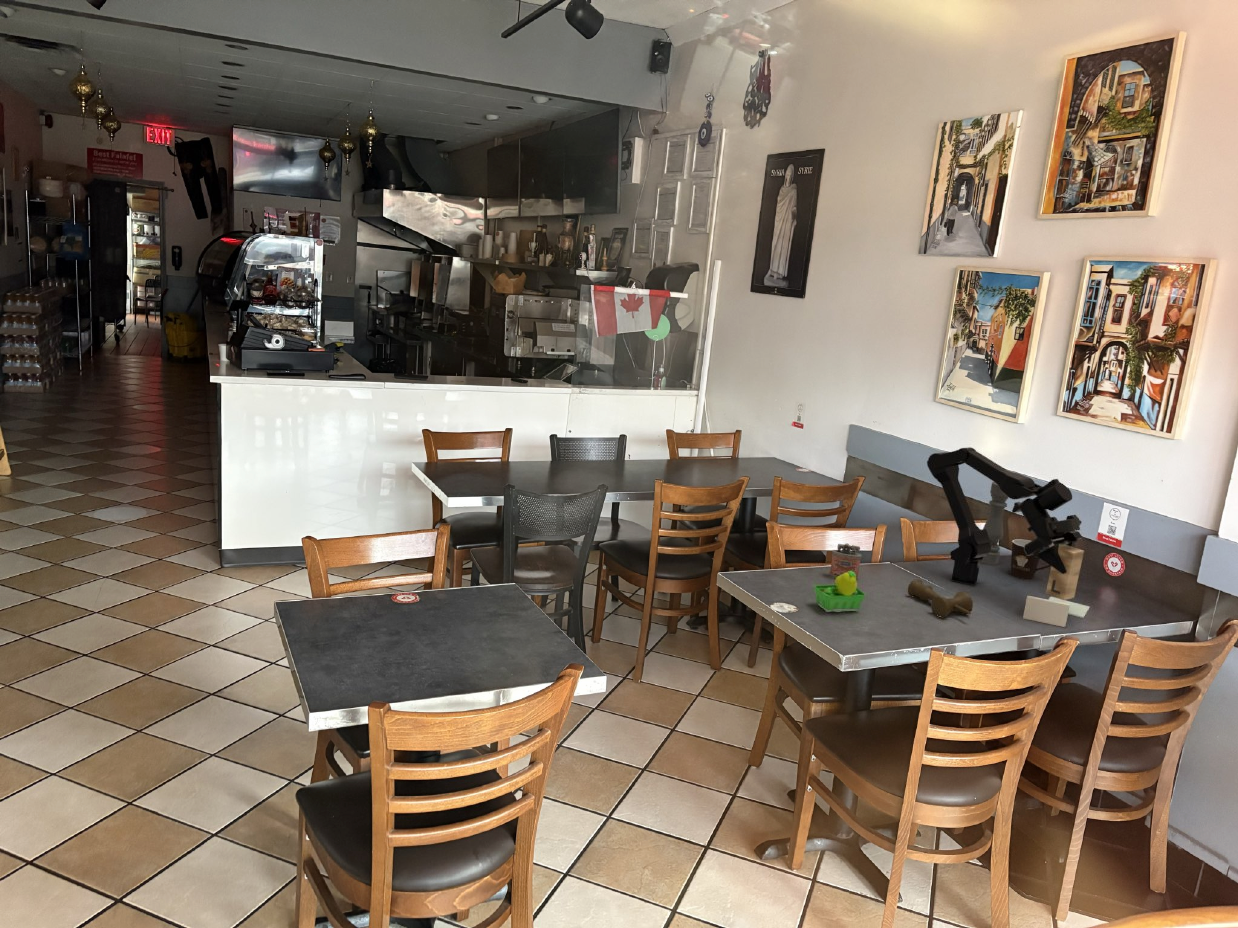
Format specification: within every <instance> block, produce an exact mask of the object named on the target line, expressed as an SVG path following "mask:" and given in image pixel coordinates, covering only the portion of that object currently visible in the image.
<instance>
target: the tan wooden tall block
mask: <svg viewBox="0 0 1238 928" xmlns="http://www.w3.org/2000/svg"><path fill="white" fill-rule="evenodd" d="M1058 554H1059V556H1060V558H1061V560H1062V562H1063V564H1064V567H1065V569H1066V573H1065V574H1062V573H1061V572H1059V571H1058V570H1056V569H1055V568H1054V567H1052V566H1050V572H1049V576H1048V580H1047V586H1046V591H1045V594H1046V595H1048V596H1050V597H1054V598H1058V599H1061V600H1066V601H1068V600H1070V599H1074V598H1075V596H1076V591H1077V585H1078V581H1079V576H1080V573H1081V566H1082V563H1083V558H1084V554H1085V550H1082V549H1080V548H1078V547H1077V548H1076V547H1075V546H1074V547H1071V546H1068V545H1062V546H1059V548H1058Z"/></svg>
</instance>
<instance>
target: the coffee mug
mask: <svg viewBox="0 0 1238 928" xmlns="http://www.w3.org/2000/svg"><path fill="white" fill-rule="evenodd" d="M1031 541H1032V540H1029V539H1020V538H1018V539H1013V540H1011V544H1012V545H1011V557H1010V572H1009V573H1010V575H1011V576H1012V577H1015V578H1017V577H1018V579H1020V578H1024V579H1023V580H1027V579H1029V580H1033V579H1034V577H1035V575H1036V572H1037V571H1041V570H1045V569H1047V568H1051V565H1049V564H1047V565H1045V566H1041V567H1038V565H1039V563H1040V560H1041V559H1040V558H1038V557H1036V556H1035V555H1037V554H1039V552H1038V551H1039V550H1038V551H1036V552H1035V554H1034V555H1030V556H1027V555H1026V553H1025V551H1024V546H1025V545H1026V544H1028V543H1029V542H1031ZM1032 578H1033V579H1032Z"/></svg>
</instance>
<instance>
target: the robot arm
mask: <svg viewBox="0 0 1238 928" xmlns="http://www.w3.org/2000/svg"><path fill="white" fill-rule="evenodd" d="M964 464H966V465H967V466H968V467H970V468H972V469H973V470H975V471H976V472H978V473H979V474H981V475H983V476H984V477H986V478H987V479H989V480H990V481H992V482H995V483H996V484H997V485H998V486H999V488H1000V490H1001V491H1002V492H1003V493H1004V494H1006V495H1007V496H1008V499H1011V500H1022V499H1024V500H1022V501H1021V502H1020V501H1018V502H1014V504H1013V507H1012V510H1011V512H1012V513H1019V512H1021V514H1022V515H1023V517H1024V519H1025V521H1026V522H1027V523H1028V524H1027V525H1028V526H1029V527H1027V529H1026V530H1028V532H1033V535H1034V536H1035V539H1033V540H1030V541H1031V542H1029V543H1028V544H1026V545H1025V546H1024V551H1025V553H1026V555H1027V556H1030V555H1034V554H1035V552H1036V551H1038V550H1039V551H1038V552H1039V554H1037V555H1035V556H1036V557H1038V558H1040V560H1042V561H1043V562H1045V563H1046V564H1047V565H1051V566H1052V567H1054V568H1055V569H1056V570H1058V571H1059V572H1061V573H1062V574H1065V573H1066V569H1065V567H1064V564H1063V562H1062V560H1061V558H1060V556H1059V554H1058V548H1059V546H1062V545H1068V546H1071V547H1074V548H1075V546H1076V544H1078V541H1080V540H1081V539H1083V536H1082V534H1081V533H1080V531H1081V527H1080V526H1081V524H1082V520H1080V517H1078V516H1077V514H1071V515H1067V516H1066V519H1063V520H1058V518H1057V517H1055V516H1052V517H1051V515H1050V513H1049V512H1048V511H1050V512H1054V511H1055V510H1057V509H1059V508H1061V507H1062V506H1064V505H1065V504H1067V503H1069V502H1071V501H1072V500H1073V494H1072V492H1071V490H1070V489H1069V487H1067V486H1066V485H1065V484H1064V483H1062V482H1060V480H1059V478H1053V479H1051V480H1049V482H1048V483H1046V484H1045V485H1043V486H1042V485H1040V484H1037V483H1035V481H1034V479H1032V478H1031V477H1029V476H1026V475H1023V474H1022V473H1018V472H1014V471H1011V470H1008V469H1006V468H1005V467H1003V466H1001V465H999V464H998V463H996V462H995V461H993V460H992V459H990V458H988V457H986V456H985V455H983V454H982V453H980V452H979V451H978V450H976V449H975V448H974V447H969V446H968V447H960V448H959V449H956V450H953V451H952V450H951V451H946V452H944V451H943V452H935V453H932V454H930V455H929V457H928V459H927V461H926V465H927V467H928V470H929V472H930V473H931V475H932V477H933V478H934V479H935V480H936V481H937V482H938V483H939V484H940V485H941V487H942V490H943V493H944V495H945V497H946V500H947V502H948V505H949V508H950V510H951V513H952V516H953V518H954V522H955V523H956V526H957V528H958V534H957V535H958V537H957V544H958V547H956V548H955V549H953V550H951V551H950V553H949V555H950V559H951V561H954V562H953V568H952V573H951V577H950V581H952V582H957V583H961V584H967V585H972V586H975V584H976V583H977V582H978V577H979V574H980V573H979V572H980V565H978V564H979V561H982V560H983V558H984V557H985V556H986V555H988V553H989V552H990V550H991V544H990V542H992V541H991V540H990V539H989V537H988V533H987V530H986V529H983V528H982V529H981V528H980V527H979V526H977V524H976V522H975V519H974V517H973V514H972V510H971V509H970V506H969V504H968V501H967V498H966V495H965V493H964V490H963V488H962V486H961V483H960V481H959V474H960V465H964ZM1034 496H1035V497H1034ZM1030 497H1034V498H1030ZM1051 566H1050V567H1051Z"/></svg>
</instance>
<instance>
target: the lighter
mask: <svg viewBox="0 0 1238 928" xmlns="http://www.w3.org/2000/svg"><path fill="white" fill-rule="evenodd" d="M857 552H861V546H859V545H853V544H852V545H850V544H849V543H844V544H842V543H838V544H837V549H832V552H831V554H832V556H831V557H832V558H831V562H830V570H829V573H828V576H829V577H830V578H832V579H836V578H837V577H838V576H840V575H842V574H844V573H847V572H848V571H852V572H854V573H855V574H856V582H858V581H859V573H860V564H861V559H862V558H863V557H862V554H861V553H857ZM857 580H858V581H857Z"/></svg>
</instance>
